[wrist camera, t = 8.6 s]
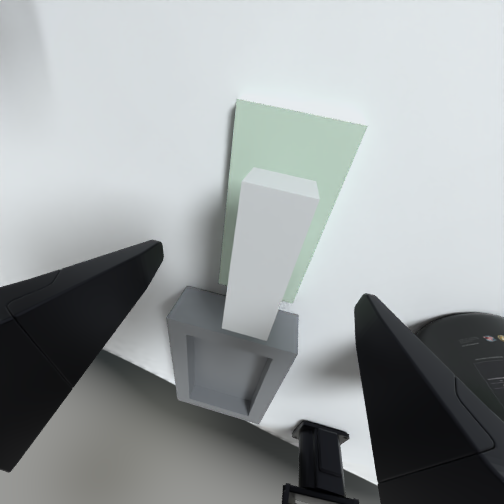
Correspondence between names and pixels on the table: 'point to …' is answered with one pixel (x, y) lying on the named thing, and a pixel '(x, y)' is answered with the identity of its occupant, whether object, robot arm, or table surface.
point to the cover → (277, 206)
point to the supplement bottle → (471, 353)
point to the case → (227, 357)
